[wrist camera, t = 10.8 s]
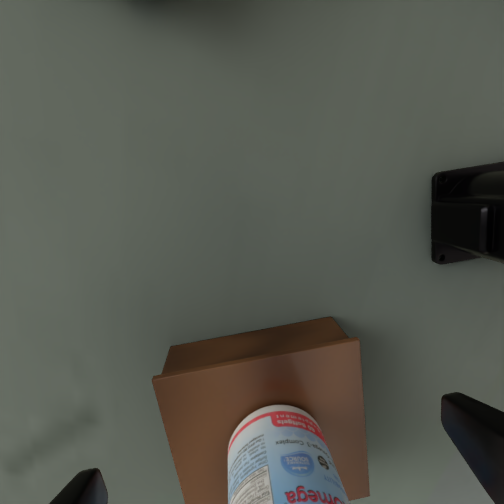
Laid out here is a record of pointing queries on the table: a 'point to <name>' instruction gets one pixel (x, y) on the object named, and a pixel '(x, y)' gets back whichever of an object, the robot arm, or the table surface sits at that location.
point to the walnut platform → (262, 399)
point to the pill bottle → (281, 460)
